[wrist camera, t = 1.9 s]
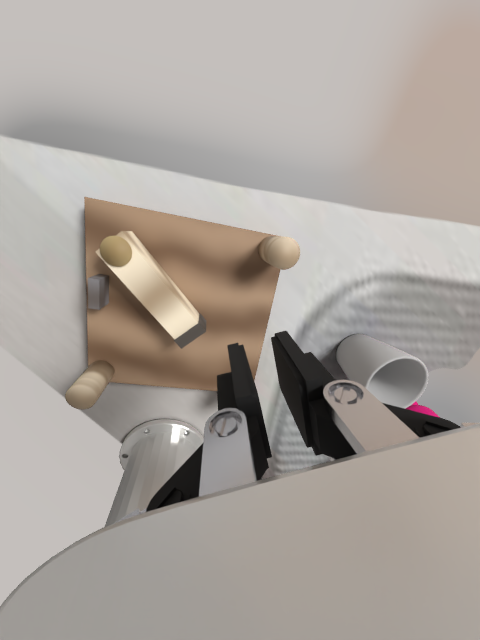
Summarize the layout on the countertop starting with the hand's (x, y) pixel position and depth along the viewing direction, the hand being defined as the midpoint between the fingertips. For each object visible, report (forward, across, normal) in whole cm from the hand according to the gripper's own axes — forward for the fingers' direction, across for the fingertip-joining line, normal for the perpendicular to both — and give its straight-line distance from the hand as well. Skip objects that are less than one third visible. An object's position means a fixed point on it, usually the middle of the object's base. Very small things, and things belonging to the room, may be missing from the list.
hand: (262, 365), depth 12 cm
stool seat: (+19, +6, +1) cm, 20 cm away
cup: (+19, -16, +15) cm, 29 cm away
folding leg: (+16, +7, -2) cm, 18 cm away
